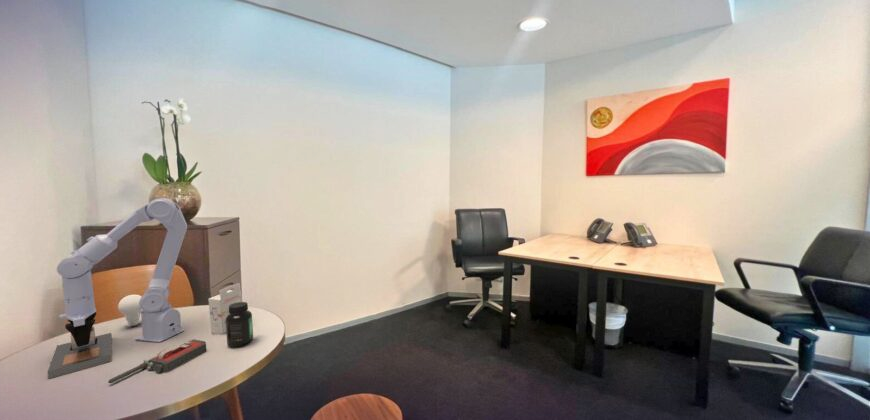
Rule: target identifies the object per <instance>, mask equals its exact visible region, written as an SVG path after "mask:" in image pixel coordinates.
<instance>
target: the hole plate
mask: <svg viewBox="0 0 870 420" xmlns="http://www.w3.org/2000/svg"><path fill="white" fill-rule="evenodd" d="M112 336H113V335H112V332H109V333H105V334H101V335H95V339H96V344H95V345H91V346H87V347H83V348H79V349H75V350H72V345H71V341H70V342H67V343H61V344H58V345H56V346H55V350H54V353H53V355H52V358H51V361H50V364H49V367H48V369H47V378H48V379H49V380H51V379H53V378H57V377H60V376H64V375H68V374H72V373H75V372H79V371H81V370H82V371H83V370H85V369H89V368H93V367H96V366H100V365H103V364H107V363H110V362H112V350H113V349H112V347H113V346H112V345H113V337H112Z"/></svg>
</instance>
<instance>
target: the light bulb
mask: <svg viewBox="0 0 870 420" xmlns="http://www.w3.org/2000/svg"><path fill="white" fill-rule="evenodd" d="M142 296H143V295H140V294H129V295H126V296H124V297H122V298H121V299H120V301H119V303H118V306H117V308H118V311H119V313H121V314H122V315H123V316H124V317H125V320H126V321H127V326H128V327H131V328H133V327H136V326H138V325H139V324H140V318H141V307H140V305H139V301H140V299H141V297H142Z"/></svg>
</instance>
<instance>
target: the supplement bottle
mask: <svg viewBox="0 0 870 420" xmlns="http://www.w3.org/2000/svg"><path fill="white" fill-rule="evenodd" d="M229 313H230V314H229V315H228V316H227V317H226V333H225V334H226V344H227V347H229V348H231V349H239V348H244V347H246V346H249V345H250V344H252V342H253V341H254V329H253V328H254V327H253V314H252V312H251V311H250V310H249V306H248V302H247V301H242V302H238V303H234V304H231V305H230V306H229Z"/></svg>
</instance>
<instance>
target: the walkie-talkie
mask: <svg viewBox="0 0 870 420" xmlns="http://www.w3.org/2000/svg"><path fill="white" fill-rule="evenodd" d="M206 352H207V343H206V341H205V340H200V339H195V338H194V339H192V340H189V341H184V342H183V343H182V344H180V345H172V346H170V347H168V348H167V349H164V350H161V351H160V352H159V353H157V354H154V355H152V356H150V357H148V358H145V359H143V362H142V363H140V364H139V365H137V366H135V367H133V368H131V369H128V370H127V371H124V372H123V373H120V374H118V375H116V376H114V377H112V378H110V379H109V380H108V384H112V383H115V382H117V381H118V380H121V379H123V378H125V377H127V376H130V375H131V374H133V373H136V372H138V371H140V370H143V369H145V368H146V370H147V371H150V370H151V371H155V372H156V373H157V374H158V373H165V374H166V373H169V372H170V371H172V370H175V369H176V368H178V367H180V366H181V365H182V366H183V365H184V364H185V363H187V362H189V361H191V360H193V359H195V358H196V357H199V356H201V355H202V354H204V353H206Z"/></svg>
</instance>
